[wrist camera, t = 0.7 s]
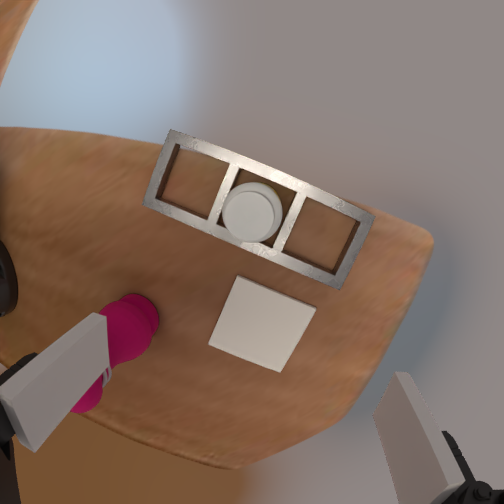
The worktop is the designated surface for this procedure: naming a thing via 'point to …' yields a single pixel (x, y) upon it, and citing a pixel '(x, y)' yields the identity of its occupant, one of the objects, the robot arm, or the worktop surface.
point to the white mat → (260, 324)
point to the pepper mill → (122, 340)
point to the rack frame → (276, 250)
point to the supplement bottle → (252, 212)
